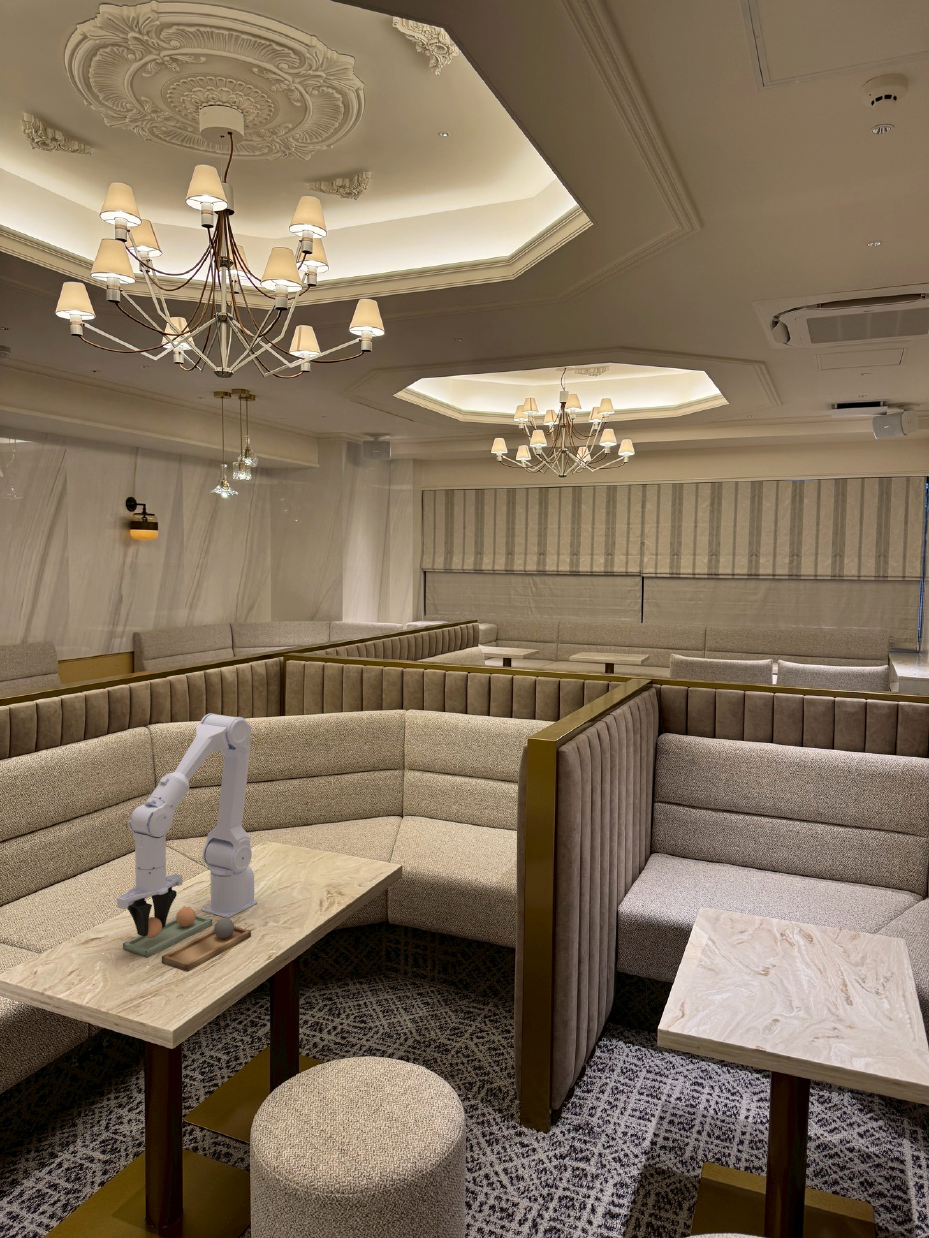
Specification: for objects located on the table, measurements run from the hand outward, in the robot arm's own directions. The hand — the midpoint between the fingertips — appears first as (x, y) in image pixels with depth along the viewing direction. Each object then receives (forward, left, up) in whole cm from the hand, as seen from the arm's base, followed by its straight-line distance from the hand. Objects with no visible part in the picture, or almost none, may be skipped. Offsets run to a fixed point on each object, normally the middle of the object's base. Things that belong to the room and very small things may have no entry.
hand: (151, 930), depth 164 cm
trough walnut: (-4, +11, -3) cm, 12 cm away
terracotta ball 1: (0, 0, +1) cm, 1 cm away
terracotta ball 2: (-9, 0, 0) cm, 9 cm away
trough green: (-4, 0, -3) cm, 5 cm away
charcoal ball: (-9, +11, 0) cm, 14 cm away
